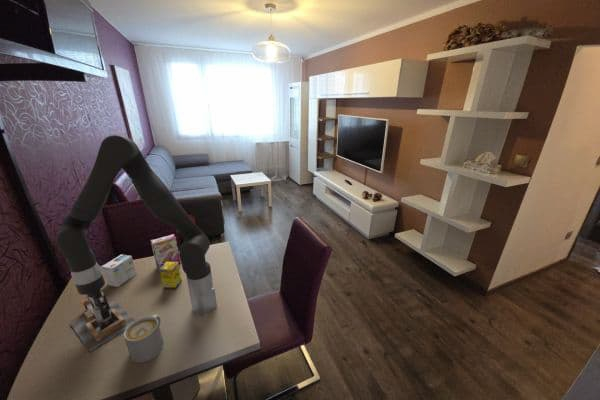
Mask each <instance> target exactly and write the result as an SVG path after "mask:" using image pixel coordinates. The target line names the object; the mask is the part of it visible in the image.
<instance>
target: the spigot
mask: <svg viewBox="0 0 600 400" xmlns="http://www.w3.org/2000/svg"><path fill="white" fill-rule="evenodd" d="M96 304H98V303H96ZM103 307H105V306H103ZM103 307H102V308H103ZM93 313H94V315H95V318H96V320H97V323H98V326H99V328H100V331H101V330H103V329H104V328H106V327H108V326H109V325H111V324H113V323H114V321H113V318H112V316H111V313H110V310H109V313H110V317H109V318H107V319H105V320H103V319H102V316H101V313H100V312H99V310H98V308H97V307H95V306H94V308H93Z"/></svg>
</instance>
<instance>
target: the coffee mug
mask: <svg viewBox="0 0 600 400" xmlns="http://www.w3.org/2000/svg"><path fill="white" fill-rule="evenodd" d="M134 320H135V321H134V322H132V323H131V324H130V325H129V326H128V327H127V328H126V330H124V331H123V338H124V341H125V344H126V347H127V350H128V352H129V356H130V359H131V361H133V362H134V363H141V364H142V363H145V362H147V361H151V360H152V359H154V358H155V357H156V356H158V355H159V354H160V353H161V351H162V349H163V348H164V338H163V335H162V331H161V317H160V315H158V314H153V315H147V316H143V317H140V318H137V319H134Z"/></svg>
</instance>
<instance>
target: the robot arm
mask: <svg viewBox="0 0 600 400" xmlns="http://www.w3.org/2000/svg"><path fill="white" fill-rule="evenodd" d="M122 170H123V171H124V172H125V173H126V174H127V176H128V177H129V179H130V180H131V181H132V182H133V184H134V187H135V189H136V191H137V193H138V196H139V197H140V199H141V201H142V202H143V204H144V205H145V206H146V208H147V209H148V210H149V212H150V213H152V215H153V217H155V218H156V219H157V220H159V221H161V222H163V223H165V224H167V225H169V226H171V227H173V228H174V229H175V230H176V231H177V232H178V233H179V234H180V236H181V237H182V239H183V240H184V241H183V242H182V243H181V245H180V247H179V248H178V251H179V256H180V262H181V267H182V271H183V273H185V275H186V276H185V277H186V281H187V287H188V291H189V297H190V301H191V308H192V311H193V313H194V314H196V315H202V316H207V315H208V314H209V313H210V312H211V311H213V310H215V308H217V307H218V304H217V303H218V301H217V296H216V289H215V288H214V284H213V276H212V270H211V265H210V263H209V262H208V261H206V254H207V252H208V251H209V248H210V246H211V243H210V240H209V238H208V237H207V235H206V234H205V232H204V231H203V230H201V228H200V227H198V225H197V224H196V223H195V222H194V221H193V219H191V217H190V216H189V214H188V213H187V212H186V211H185V209H184V208H183V207H182V205H181V204H180V203H179V200H177V198H176V197H175V195H174V194H173V193H172V192H171V190H170V189H169V188H168V186H167V185H166V184H165V183H164V182H163V181H162V179H161V178H160V177H159V176H158V175H157V173H155V171H154V170H153V169H152V168H151V166H150V165H149V163H148V161H147V160H146V158H145V157H144V155H143V153H142V152H141V150H140V148H139V146H138V145H137V144H136V142H135V141H134V140H132V139H131V138H129V137H126V136H123V135H118V134H116V135H115V134H114V135H109V136H107V137H105V138H104V139H103V140H102V141H101V144H100V145H99V149H98V151H97V155H96V159H95V161H94V164H93V168H92V169H91V172H90V174H89V176H88V178H87V180H86V182H85V184H84V185H83V188H82V189H81V191H80V193H79V195H78V196H77V198H76V200H75V201H74V204H73V205H72V207H71V209H70V212H69V214H68V215H67V216H66V218H65V219H64V220H63V222H62V223H61V225H60V226H59V229H58V231H57V234H56V237H55V241H56V246H57V248H58V250H59V251H60V253H61V254H62V257H64V258H65V260H66V263H67V265H68V268H69V271H70V273H71V274H70V275H71V278H72V281H73V283H74V286H75V288H76V290H77V293H78V294H79V295H83V296H85V297H86V298H87V299H88V300H89V301H90V302H91V305H92V307H93V308H94V306H95V307H97V308H98V310H99V312H100V313H101V316H102V319H103V320H105V319H107V318H109V317H110V313H109V309H110V307H109V302H108V298H107V295H105V294H104V291H103V290H102V288H103V287H104V286H105V284H106V280H105V278H104V274H103V273H102V272H103V271H102V268H101V267H100V265H99V264H98V262H97V259H96V256H95V253H94V251H93V249H91V248H90V245H89V242H88V239H87V234H88V231H89V229H90V227H91V225H92V224H93V222H94V221H96V219H97V218H98V216H99V214H100V213H101V212H102V209H103V207H104V206H105V204H106V202H107V199H108V198H109V196H110V195H109V194H110V192H111V188H112V185H113V183H114V182H115V180H116V178H117V175H118V174H119V172H121V171H122ZM86 298H85V299H86ZM96 303H98V304H96ZM103 306H105V307H103ZM102 307H103V308H102Z"/></svg>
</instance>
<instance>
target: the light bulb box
mask: <svg viewBox="0 0 600 400" xmlns="http://www.w3.org/2000/svg"><path fill="white" fill-rule="evenodd" d="M100 268H101V271H102V272H103V276H104V277H105V278H104V279H105V282H106V284H107V285H108V286H113V287H117V288H119V287H120V286H121V285H123V284H125V283H126V282H127V281H128V280H130V279H131V278H133V277H134V276H136V275H137V271H136V267H135V263H134V259H133V257H132V255H127V254H119V255H118V256H117V257H115V258H113V259H112V260H110V261H108V262H106V263H105V264H103V265H101V267H100Z"/></svg>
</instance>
